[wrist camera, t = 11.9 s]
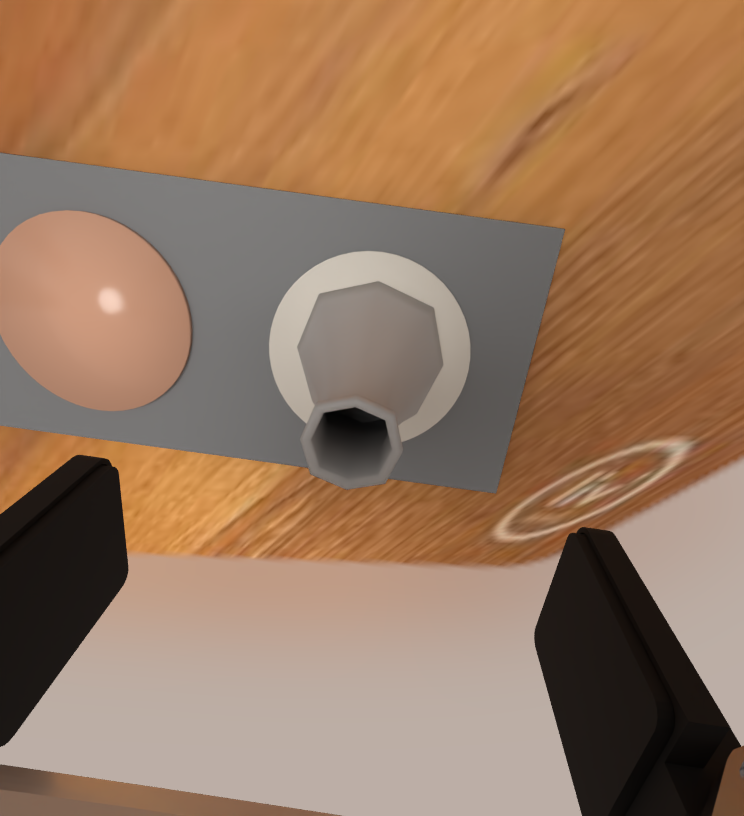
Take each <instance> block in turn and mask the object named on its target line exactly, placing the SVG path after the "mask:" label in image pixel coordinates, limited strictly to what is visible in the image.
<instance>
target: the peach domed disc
mask: <svg viewBox="0 0 744 816" xmlns="http://www.w3.org/2000/svg"><path fill="white" fill-rule="evenodd" d="M192 332H193V329H192V317H191V313H190V308H189V304H188V301H187V298H186V295H185V292H184V290H183V288H182V286H181V283H180V281H179V279H178V277H177V276H176V274H175V273H174V271H173V269H172V268H171V266H170V265H169V264H168V262H167V261H166V260H165V259H164V257H163V256H162V255H161V254H160V253H159V252H158V251H157V249H156V248H155V247H154V246H153V245H152V244H151V243H149V242H148V241H147V240H146V239H145V238H143V237H142V236H141V235H140V234H138V233H137V232H135V231H134V230H132V229H131V228H129V227H127V226H126V225H124V224H122V223H120V222H118V221H116V220H114V219H111V218H108V217H106V216H103V215H100V214H96V213H91V212H86V211H74V210H64V211H52V212H48V213H44V214H39V215H37V216H35V217H32V218H30V219H28V220H26V221H24V222H23V223H21V224H20V225H18V226H17V227H16V228H15V229H14V230H13V231H11V232H10V233H9V234H8V235H7V237H6V238H5V239H4V241H3V242H2V243H1V245H0V335H1V337H2V339H3V341H4V343H5V344H6V346H7V348H8V349H9V351H10V352H11V354H12V355H13V357H14V358H15V359H16V360H17V362H18V363H19V364H20V366H21V367H22V368H23V369H24V370H25V371H26V372H27V373H28V374H29V375H30V376H31V377H32V378H33V379H35V380H36V381H37V382H38V383H39V384H40V385H42V386H43V387H45V388H46V389H47V390H49V391H50V392H52V393H54V394H55V395H57V396H59V397H61V398H62V399H65V400H67V401H69V402H71V403H74V404H76V405H80V406H83V407H86V408H90V409H95V410H102V411H124V410H129V409H134V408H137V407H141V406H144V405H146V404H148V403H150V402H152V401H154V400H155V399H157V398H158V397H160V396H161V395H163V394H164V393H165V392H166V391H167V390H168V389H169V388H170V387H172V386H173V385H174V384H175V382H176V381H177V380H178V378H179V377H180V375H181V374H182V372H183V370H184V368H185V366H186V364H187V361H188V358H189V355H190V351H191V345H192Z"/></svg>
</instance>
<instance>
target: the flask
mask: <svg viewBox="0 0 744 816" xmlns="http://www.w3.org/2000/svg"><path fill="white" fill-rule="evenodd" d="M297 349H298V352H299V356H300V360H301V363H302V367H303V370H304V374H305V377H306V381H307V385H308V388H309V392H310V395H311V399H312V401H313V403H314V405H315V406H314V409H313V411H312V413H311V415H310V417H309V420H308V422H307V424H306V426H305V429H304V431H303V433H302V435H301V438H300V441H301V444H302V448H303V451H304V454H305V458H306V461H307V464H308V468H309V471H310V474H311V475H313V476H316V477H318V478H320V479H323V480H325V481H327V482H330V483H332V484H334V485H337V486H339V487H341V488H344V489H346V490H348V489H354V488H361V487H367V486H374V485H380V484H385V483H386V481H387V479H388V478H389V476H390V474H391V472H392V470H393V468H394V467H395V465H396V463H397V461H398V459H399V458H400V456H401V454H402V452H403V447H402V442H401V437H400V433H399V428H398V425H399V424H401V423H402V422H404V421H405V420H407V419H409V418H411V417H412V416H414V415H415V414H417V412H418V411H419V409H420V407H421V405H422V403H423V402H424V400H425V398H426V396H427V394H428V392H429V391H430V389H431V387H432V385H433V383H434V381H435V380H436V378H437V376H438V374H439V372H440V370H441V369H442V367H443V359H442V353H441V347H440V341H439V335H438V329H437V323H436V317H435V311H434V307H432V306H430V305H427V304H425V303H423V302H421V301H419V300H417V299H415V298H413V297H411V296H409V295H407V294H405V293H403V292H400V291H398V290H396V289H394V288H392V287H390V286H388V285H386V284H384V283H382V282H380V281H376V282H372V283H367V284H362V285H357V286H353V287H348V288H343V289H338V290H334V291H329V292H324V293H320V294H319V295H318V297H317V300H316V302H315V305H314V307H313V309H312V312H311V314H310V317H309V319H308V321H307V324H306V326H305V329H304V331H303V334H302V336H301V338H300V341H299V343H298V346H297Z"/></svg>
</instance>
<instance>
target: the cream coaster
mask: <svg viewBox="0 0 744 816" xmlns="http://www.w3.org/2000/svg"><path fill="white" fill-rule="evenodd" d="M376 281H380V282H382V283H384V284H386V285H388V286H390V287H392V288H394V289H396V290H398V291H400V292H403V293H405V294H407V295H409V296H411V297H413V298H415V299H417V300H419V301H421V302H423V303H425V304H427V305H430V306H432V307H434V311H435V317H436V323H437V329H438V335H439V341H440V347H441V353H442V359H443V367H442V369H441V370H440V372H439V374H438V376H437V378H436V380H435V381H434V383H433V385H432V387H431V389H430V391H429V392H428V394H427V396H426V398H425V400H424V402H423V403H422V405H421V407H420V409H419V411H418V412H417V414H415V415H414V416H412V417H411V418H409V419H407V420H405V421H404V422H402V423H401V424H399V425H398V428H399V433H400V437H401V442H403V441H407V440H409V439H411V438H414V437H416V436H418V435H420V434H422V433H423V432H425V431H427V430H428V429H430V428H431V427H432V426H434V425H435V424H436V423H438V422H439V421H440V420H441V419H442V418H443V417H444V416H445V415H446V414H447V412H448V411H449V410H450V409H451V407H452V406H453V405H454V403H455V402H456V400H457V398H458V397H459V395H460V393H461V391H462V389H463V386H464V384H465V381H466V378H467V374H468V371H469V364H470V337H469V331H468V327H467V324H466V320H465V317H464V315H463V313H462V310H461V308H460V306H459V304H458V303H457V301H456V299H455V298H454V296H453V294H452V293H451V292H450V290H449V289H448V288H447V287H446V286H445V284H444V283H443V282H442V281H441V280H440V279H439V278H438V277H436V276H435V275H434V274H433V273H432V272H430V271H429V270H428V269H426V268H425V267H423V266H422V265H420V264H418V263H416V262H414V261H412V260H410V259H408V258H405V257H402V256H399V255H397V254H392V253H387V252H382V251H355V252H350V253H345V254H341V255H338V256H335V257H332V258H330V259H327V260H325V261H323V262H321V263H319V264H318V265H316V266H314V267H313V268H312V269H310V270H309V271H307V272H306V273H305V274H303V275H302V276H301V277H300V278H299V279H298V280H297V281H296V282H295V283H294V284H293V285H292V286H291V288H290V289H289V290H288V291H287V293H286V294H285V296H284V297H283V299H282V301H281V303H280V304H279V306H278V308H277V311H276V313H275V316H274V319H273V322H272V326H271V330H270V339H269V356H270V363H271V369H272V372H273V375H274V379H275V382H276V384H277V386H278V388H279V391H280V393H281V394H282V396H283V398H284V399H285V401H286V402H287V404H288V405H289V406H290V408H291V409H292V410H293V411H294V412H295V413H296V414H297V415H298V416H299V417H300V418H301V419H302V420H303V421H304V422H305V423H306V424H307V422H308V420H309V417H310V415H311V413H312V411H313V409H314V406H315V405H314V403H313V401H312V399H311V395H310V392H309V388H308V385H307V381H306V377H305V374H304V370H303V367H302V363H301V360H300V356H299V352H298V349H297V346H298V343H299V341H300V338H301V336H302V334H303V331H304V329H305V326H306V324H307V321H308V319H309V317H310V314H311V312H312V309H313V307H314V305H315V302H316V300H317V297H318V295H319V294H320V293H324V292H329V291H334V290H338V289H343V288H348V287H353V286H357V285H362V284H367V283H372V282H376Z"/></svg>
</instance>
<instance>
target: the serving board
mask: <svg viewBox="0 0 744 816" xmlns="http://www.w3.org/2000/svg"><path fill="white" fill-rule="evenodd" d="M64 210H74V211H86V212H91V213H96V214H100V215H103V216H106V217H108V218H111V219H114V220H116V221H118V222H120V223H122V224H124V225H126V226H127V227H129V228H131V229H132V230H134V231H135V232H137V233H138V234H140V235H141V236H142V237H143V238H145V239H146V240H147V241H148V242H149V243H151V244H152V245H153V246H154V247H155V248H156V249H157V251H158V252H159V253H160V254H161V255H162V256H163V257H164V259H165V260H166V261H167V262H168V264H169V265H170V266H171V268H172V269H173V271H174V273H175V274H176V276H177V277H178V279H179V281H180V283H181V286H182V288H183V290H184V292H185V295H186V298H187V301H188V304H189V308H190V313H191V317H192V329H193V332H192V345H191V351H190V355H189V358H188V361H187V364H186V366H185V368H184V370H183V372H182V374H181V375H180V377H179V378H178V380H177V381H176V382H175V384H174V385H173V386H172V387H170V388H169V389H168V390H167V391H166V392H165V393H164V394H163V395H161V396H160V397H158V398H157V399H155V400H154V401H152V402H150V403H148V404H146V405H144V406H141V407H137V408H134V409H129V410H124V411H102V410H95V409H90V408H86V407H83V406H80V405H76V404H74V403H71V402H69V401H67V400H65V399H62V398H61V397H59V396H57V395H55V394H54V393H52V392H50V391H49V390H47V389H46V388H45V387H43V386H42V385H40V384H39V383H38V382H37V381H36V380H35V379H33V378H32V377H31V376H30V375H29V374H28V373H27V372H26V371H25V370H24V369H23V368H22V367H21V366H20V364H19V363H18V362H17V360H16V359H15V358H14V357H13V355H12V354H11V352H10V351H9V349H8V348H7V346H6V344H5V343H4V341H3V339H2V337H1V335H0V425H1V426H8V427H15V428H22V429H30V430H37V431H44V432H52V433H59V434H66V435H74V436H81V437H88V438H95V439H103V440H110V441H117V442H125V443H132V444H139V445H146V446H154V447H161V448H168V449H176V450H183V451H190V452H197V453H205V454H212V455H219V456H227V457H234V458H241V459H248V460H256V461H263V462H270V463H278V464H285V465H292V466H299V467H307V468H308V464H307V461H306V458H305V454H304V451H303V448H302V444H301V441H300V438H301V435H302V433H303V431H304V429H305V426H306V423H305V422H304V421H303V420H302V419H301V418H300V417H299V416H298V415H297V414H296V413H295V412H294V411H293V410H292V409H291V408H290V406H289V405H288V404H287V402H286V401H285V399H284V398H283V396H282V394H281V393H280V391H279V388H278V386H277V384H276V382H275V379H274V375H273V372H272V369H271V363H270V356H269V339H270V330H271V326H272V322H273V319H274V316H275V313H276V311H277V308H278V306H279V304H280V303H281V301H282V299H283V297H284V296H285V294H286V293H287V291H288V290H289V289H290V288H291V286H292V285H293V284H294V283H295V282H296V281H297V280H298V279H299V278H300V277H301V276H302V275H303V274H305V273H306V272H307V271H309V270H310V269H312V268H313V267H314V266H316V265H318V264H319V263H321V262H323V261H325V260H327V259H330V258H332V257H335V256H338V255H341V254H345V253H350V252H355V251H382V252H387V253H392V254H397V255H399V256H402V257H405V258H408V259H410V260H412V261H414V262H416V263H418V264H420V265H422V266H423V267H425V268H426V269H428V270H429V271H430V272H432V273H433V274H434V275H435V276H436V277H438V278H439V279H440V280H441V281H442V282H443V283H444V284H445V286H446V287H447V288H448V289H449V290H450V292H451V293H452V294H453V296H454V298H455V299H456V301H457V303H458V304H459V306H460V308H461V310H462V313H463V315H464V317H465V320H466V324H467V327H468V331H469V337H470V364H469V371H468V374H467V378H466V381H465V384H464V386H463V389H462V391H461V393H460V395H459V397H458V398H457V400H456V402H455V403H454V405H453V406H452V407H451V409H450V410H449V411H448V412H447V414H446V415H445V416H444V417H443V418H442V419H441V420H440V421H439V422H438V423H436V424H435V425H434V426H432V427H431V428H430V429H428V430H427V431H425V432H423V433H422V434H420V435H418V436H416V437H414V438H411V439H409V440H407V441H403V442H402V447H403V452H402V454H401V456H400V458H399V459H398V461H397V463H396V465H395V467H394V468H393V470H392V472H391V474H390V476H389V478H388V479H394V480H402V481H409V482H416V483H423V484H431V485H438V486H445V487H453V488H460V489H467V490H474V491H482V492H489V493H496V492H497V488H498V484H499V480H500V476H501V473H502V469H503V465H504V461H505V457H506V453H507V450H508V446H509V442H510V438H511V434H512V430H513V427H514V423H515V419H516V415H517V411H518V407H519V404H520V400H521V396H522V392H523V388H524V385H525V381H526V377H527V373H528V369H529V365H530V362H531V358H532V354H533V350H534V346H535V342H536V339H537V335H538V331H539V327H540V323H541V319H542V316H543V312H544V308H545V304H546V300H547V297H548V293H549V289H550V285H551V281H552V277H553V274H554V270H555V266H556V262H557V258H558V254H559V251H560V247H561V243H562V239H563V235H564V231H565V229H561V228H554V227H547V226H539V225H532V224H524V223H517V222H510V221H502V220H495V219H487V218H480V217H473V216H465V215H458V214H450V213H443V212H435V211H428V210H421V209H413V208H406V207H398V206H391V205H384V204H376V203H369V202H361V201H354V200H347V199H339V198H332V197H324V196H317V195H310V194H302V193H295V192H287V191H280V190H272V189H265V188H258V187H250V186H243V185H235V184H228V183H221V182H213V181H206V180H198V179H191V178H184V177H176V176H169V175H161V174H154V173H146V172H139V171H132V170H124V169H117V168H109V167H102V166H95V165H87V164H80V163H72V162H65V161H58V160H50V159H43V158H35V157H28V156H20V155H13V154H6V153H0V245H1V243H2V242H3V241H4V239H5V238H6V237H7V235H8V234H9V233H10V232H11V231H13V230H14V229H15V228H16V227H17V226H18V225H20V224H21V223H23V222H24V221H26V220H28V219H30V218H32V217H35V216H37V215H39V214H44V213H48V212H52V211H64Z"/></svg>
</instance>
